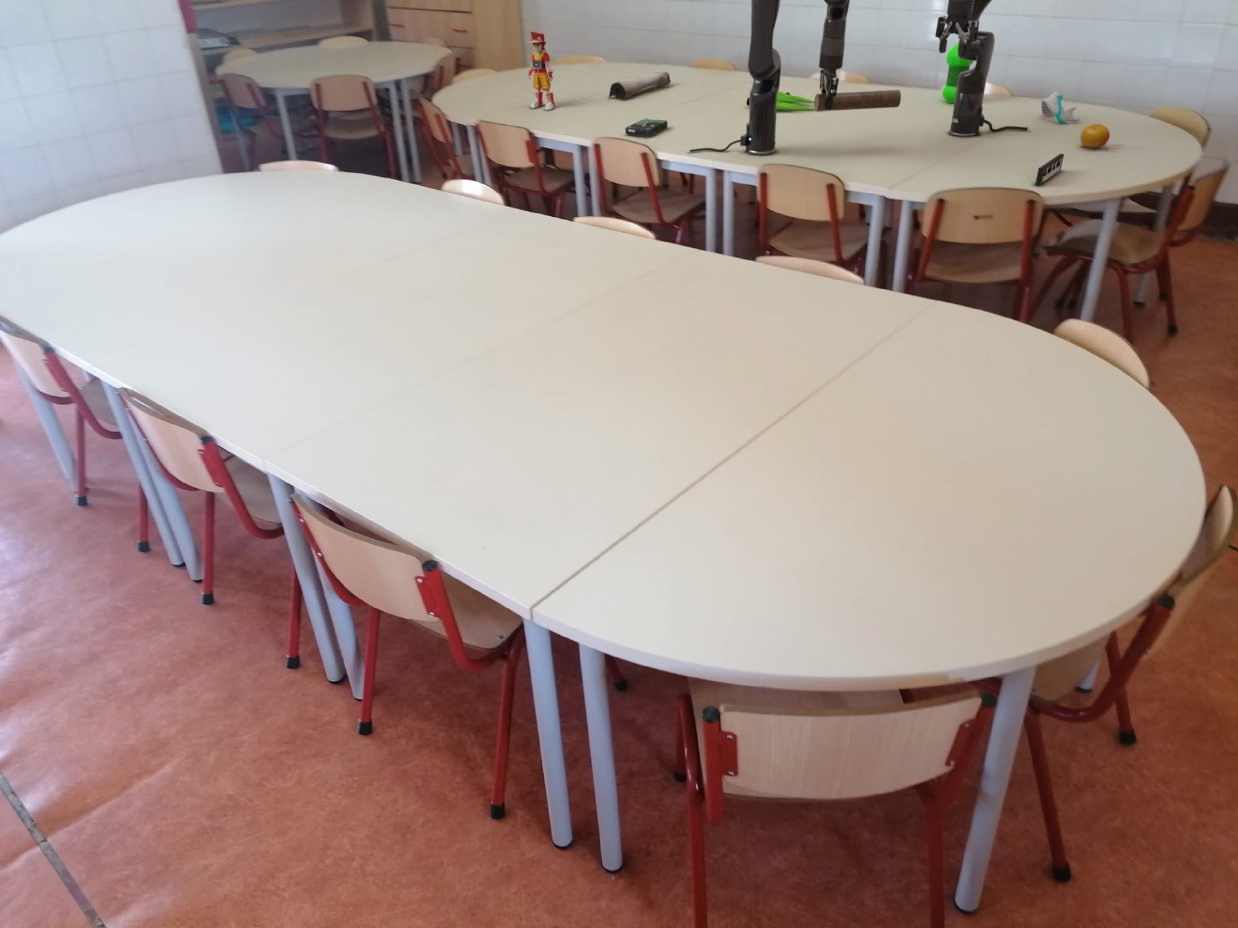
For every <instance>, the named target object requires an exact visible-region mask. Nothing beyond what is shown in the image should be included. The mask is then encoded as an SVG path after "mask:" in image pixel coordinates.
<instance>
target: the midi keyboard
mask: <svg viewBox="0 0 1238 928" xmlns="http://www.w3.org/2000/svg"><path fill="white" fill-rule="evenodd" d="M1064 157H1065V153H1059V154H1058V155H1056V156H1055V157H1052V159H1051V160H1049V161H1047V162H1045V164H1042V165H1041V166H1039V167H1038V169H1037V175H1036V179H1035V186H1040V185H1042V183H1044V182H1045V181H1047V180H1048V179H1049V178H1051V177H1052V176H1054V175H1055V174H1056V173H1058V172H1060V171H1061V170H1062V165H1063V161H1064Z"/></svg>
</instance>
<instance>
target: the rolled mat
mask: <svg viewBox="0 0 1238 928" xmlns="http://www.w3.org/2000/svg"><path fill="white" fill-rule="evenodd" d="M671 83H672V81H671V77H670V74H669V72H668V71H658V72H654V73H649V74H645V75H640V76H637V77H633V78H628V79H623V80H620V81H616V82H613V83H612V84H611V85H610V89H609V95H608V97H609V98H611V97H616V99H620V100H622V101H623V100H626V99H627V98H629V97H630V96H632V95H635V94H636V93H638V92H640V91H643V90H644V89H647V88H650V87H655V86H658V87H659V86H661V87H665V86H669V85H670V84H671Z"/></svg>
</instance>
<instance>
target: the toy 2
mask: <svg viewBox="0 0 1238 928" xmlns="http://www.w3.org/2000/svg"><path fill="white" fill-rule="evenodd" d="M814 101H815V100H812V99H809V98H805V97H801V96H797V95H793V94H791V93H790V92H785V93H784V91H783V92H782V91H778V94H777V110H780V111H781V110H782V111H783V110H784V111H815V107H810V106H804V105H800V104H799V103H803V104H804V103H805V104H814ZM745 103H746V106H748V107H749V105H750V96H749V97H747V99H746V102H745Z"/></svg>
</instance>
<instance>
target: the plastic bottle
mask: <svg viewBox="0 0 1238 928" xmlns="http://www.w3.org/2000/svg"><path fill="white" fill-rule="evenodd" d="M957 35H958V34H957ZM957 39H958V40H959V39H960V35H958V36H957ZM958 43H959V42H957V43H956V44H954V45H953V46H952V47H951V48H950V49H949V50H948V52H947V54H946V63H947V64H948V69H947V70H948V71H947V76H946V77H947V78H946V84H945V85H944V87H943V90H942V97H943V99H944V100H945V101H946V102H947V103H948V104H954V103H955V96H956V90H957V83H958V77H959V74H960V73H961V72H963V71H966V70H970V67H971V65H972V64H973V63H974V61H970V60H962V59H960V58H959V57H958Z"/></svg>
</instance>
